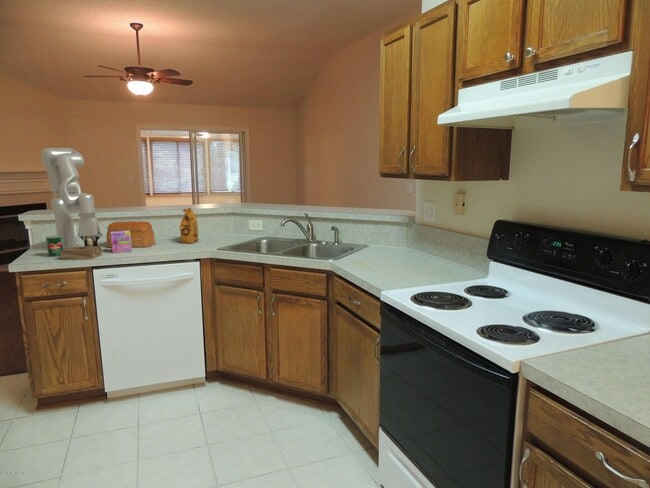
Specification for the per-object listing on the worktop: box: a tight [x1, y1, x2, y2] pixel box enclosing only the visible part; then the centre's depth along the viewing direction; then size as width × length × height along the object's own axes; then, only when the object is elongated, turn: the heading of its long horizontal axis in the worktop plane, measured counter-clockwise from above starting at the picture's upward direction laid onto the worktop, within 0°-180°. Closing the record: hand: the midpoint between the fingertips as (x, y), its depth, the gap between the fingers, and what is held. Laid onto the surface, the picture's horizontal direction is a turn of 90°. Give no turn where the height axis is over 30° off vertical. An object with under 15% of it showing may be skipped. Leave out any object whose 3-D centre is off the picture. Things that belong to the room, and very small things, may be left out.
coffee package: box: [179, 206, 199, 245], centre depth 289 cm, size 10×12×22 cm
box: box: [110, 230, 133, 254], centre depth 263 cm, size 10×6×12 cm, turn 117°
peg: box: [86, 236, 94, 246], centre depth 260 cm, size 4×4×10 cm
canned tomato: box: [45, 234, 64, 258], centre depth 254 cm, size 8×8×11 cm
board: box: [60, 245, 103, 261], centre depth 249 cm, size 12×16×5 cm
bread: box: [106, 220, 156, 248], centre depth 281 cm, size 14×27×15 cm, turn 89°
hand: (91, 247), depth 260 cm, fingers closed on peg, 4 cm apart
